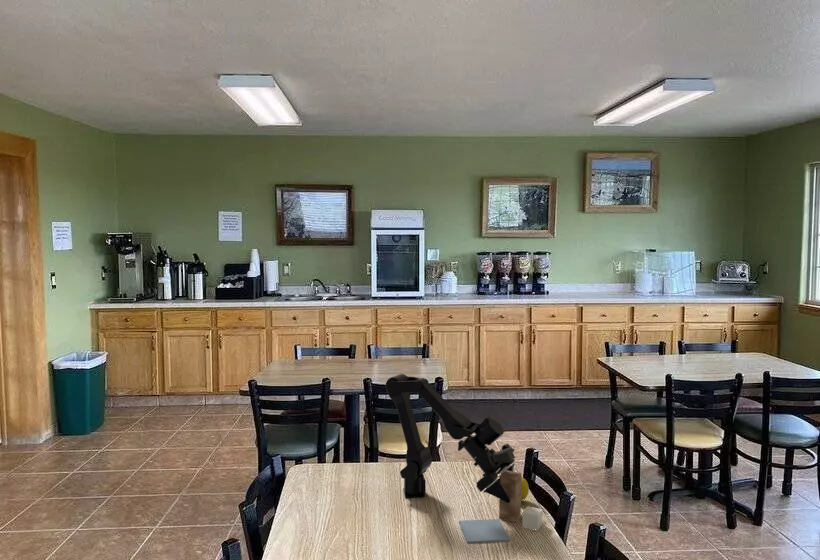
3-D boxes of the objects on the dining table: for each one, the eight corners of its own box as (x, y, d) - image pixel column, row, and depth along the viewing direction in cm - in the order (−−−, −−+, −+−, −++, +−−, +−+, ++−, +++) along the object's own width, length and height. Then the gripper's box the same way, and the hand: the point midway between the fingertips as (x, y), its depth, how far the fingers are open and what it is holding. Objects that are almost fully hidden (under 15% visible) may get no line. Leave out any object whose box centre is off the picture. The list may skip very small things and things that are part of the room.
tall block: (499, 518, 172) (499, 475, 171) (504, 511, 176) (505, 470, 176) (515, 522, 170) (515, 479, 169) (520, 515, 174) (521, 473, 173)
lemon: (528, 505, 180) (528, 480, 180) (510, 504, 181) (510, 479, 181) (528, 498, 186) (528, 474, 185) (511, 496, 187) (511, 472, 186)
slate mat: (467, 543, 157) (467, 541, 157) (458, 522, 169) (458, 520, 169) (509, 541, 159) (509, 539, 159) (498, 520, 171) (498, 518, 171)
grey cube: (522, 527, 167) (522, 512, 166) (527, 520, 171) (527, 506, 170) (537, 531, 165) (538, 515, 164) (542, 524, 168) (542, 509, 168)
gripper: (486, 447, 165) (523, 493, 161) (508, 429, 182) (542, 470, 177) (461, 469, 170) (496, 514, 165) (485, 449, 186) (517, 490, 181)
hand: (514, 496), depth 172 cm, fingers open, 9 cm apart
